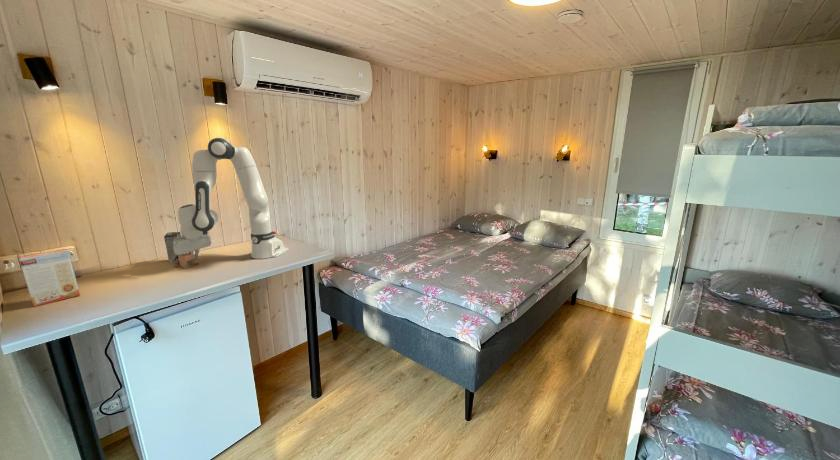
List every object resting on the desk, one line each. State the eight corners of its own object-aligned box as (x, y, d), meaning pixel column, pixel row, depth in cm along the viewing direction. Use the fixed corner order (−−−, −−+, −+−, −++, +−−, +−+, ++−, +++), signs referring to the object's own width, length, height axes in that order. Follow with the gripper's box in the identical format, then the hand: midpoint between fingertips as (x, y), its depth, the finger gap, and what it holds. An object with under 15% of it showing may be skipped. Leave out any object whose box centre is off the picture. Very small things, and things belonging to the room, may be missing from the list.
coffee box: (172, 259, 199) (167, 232, 196) (185, 257, 202) (180, 231, 198) (168, 263, 191) (163, 236, 188) (182, 262, 194) (177, 234, 190)
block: (188, 263, 190) (186, 253, 189) (195, 264, 189) (193, 253, 187) (180, 266, 185) (178, 255, 184) (186, 267, 184) (185, 256, 183)
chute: (187, 263, 192) (186, 257, 191) (200, 264, 189) (199, 258, 188) (161, 272, 178) (159, 266, 177) (173, 274, 175) (172, 267, 174)
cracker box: (78, 292, 154) (66, 247, 149) (80, 295, 150) (68, 250, 145) (32, 303, 143) (18, 255, 138) (33, 307, 139) (18, 258, 135)
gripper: (177, 239, 177) (181, 264, 181) (211, 230, 196) (214, 253, 200) (168, 238, 179) (172, 263, 182) (202, 229, 198) (206, 252, 201)
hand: (195, 257), depth 191 cm, fingers closed
